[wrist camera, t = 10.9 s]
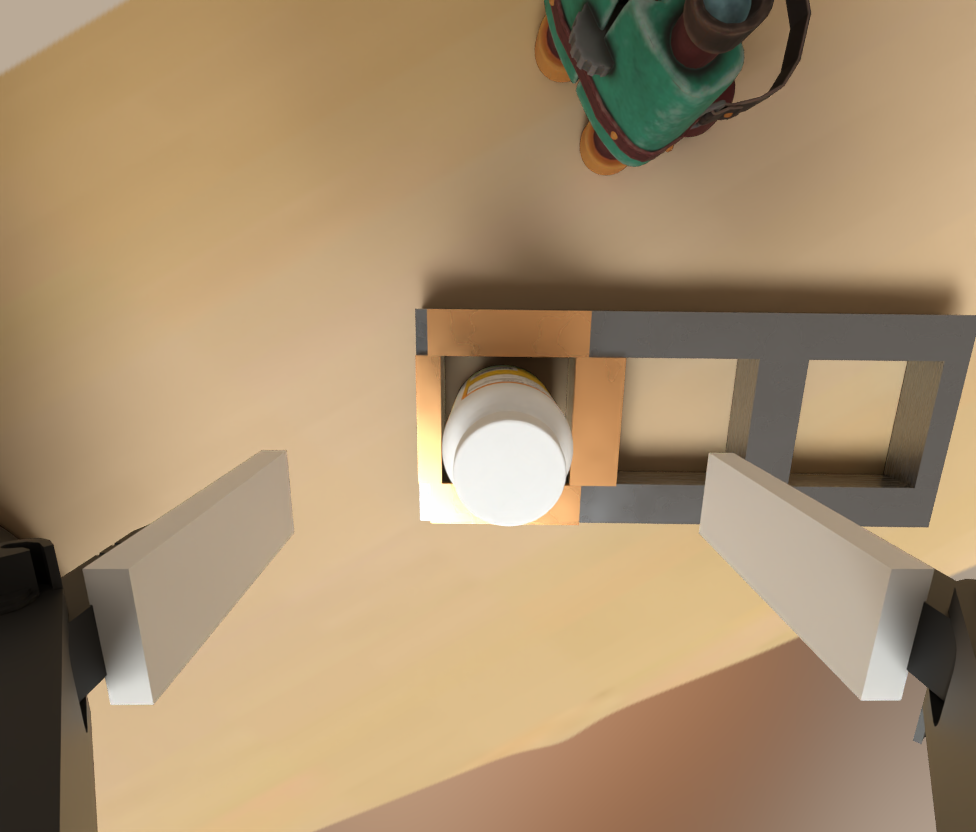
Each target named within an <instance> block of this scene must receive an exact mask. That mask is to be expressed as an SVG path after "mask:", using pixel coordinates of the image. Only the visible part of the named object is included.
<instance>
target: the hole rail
mask: <svg viewBox="0 0 976 832" xmlns="http://www.w3.org/2000/svg"><path fill="white" fill-rule="evenodd" d="M415 318H416V355H415V359H416V401H417V442H418V483H419V486H420V520H431V523H467V524H492V523H489V522H486V521H484V520H482V519H480V518H479V517H477V516H475V515H474V514H473V513H472V512H471V511H470V510H468V509H467V508H466V507H465V505H464V504H463V503H462V501H461V499H460V498H459V496H458V494H457V492H456V489H455V486H454V484H453V483H452V482H451V480H450V478H449V476H448V474H447V472H446V469H445V466H444V462H443V457H442V440H443V434H444V430H445V426H446V421H445V356H497V357H569V361H568V380H567V400H566V420H567V422H568V424H569V427H570V429H571V433H572V438H573V457H572V462H571V466H570V469H569V472H568V474H567V476H566V481H565V485H564V489H563V491H562V494H561V496H560V497H559V499H558V501H557V502H556V504H555V505H554V506H553V507H552V508H551V509H550V510H549V511H548V512H547V513H546V514H544V515H543V516H541V517H540V518H538V519H536V520H534V521H532V522H529V523H527V524H540V525H579V522H580V523H652V524H700V520H701V512H702V504H703V496H704V488H705V480H706V472H646V471H617V469H618V457H619V444H620V431H621V419H622V406H623V393H624V381H625V368H626V358H625V357H632V358H714V359H738V363H737V371H736V378H735V386H734V393H733V400H732V408H731V415H730V423H729V430H728V438H727V445H726V453H734V454H736V455H738V456H740V457H741V458H743V459H745V460H746V461H748V462H750V463H752V464H753V465H755V466H757V467H759V468H760V469H762V470H764V471H766V472H767V473H769V474H771V475H772V476H774V477H776V478H778V479H779V480H781V481H783V482H785V483H786V484H788V485H790V486H792V487H793V488H795V489H797V490H799V491H800V492H802V493H804V494H805V495H807V496H809V497H811V498H812V499H814V500H816V501H818V502H819V503H821V504H823V505H825V506H826V507H828V508H830V509H831V510H833V511H835V512H837V513H838V514H840V515H842V516H844V517H845V518H847V519H849V520H851V521H852V522H854V523H856V524H858V525H859V526H869V527H928V526H929V522H930V518H931V514H932V510H933V506H934V502H935V498H936V494H937V490H938V486H939V482H940V478H941V474H942V470H943V466H944V462H945V458H946V454H947V450H948V446H949V442H950V438H951V434H952V430H953V426H954V422H955V418H956V414H957V410H958V406H959V401H960V397H961V393H962V389H963V385H964V381H965V377H966V373H967V369H968V365H969V361H970V357H971V353H972V349H973V345H974V341H975V337H976V315H918V314H832V313H747V312H662V311H576V310H491V309H415ZM809 360H878V361H908V363H907V368H906V373H905V377H904V382H903V386H902V391H901V396H900V400H899V405H898V409H897V414H896V418H895V423H894V428H893V432H892V437H891V441H890V446H889V451H888V455H887V460H886V464H885V469H884V474H883V475H871V474H796V473H790V469H791V463H792V457H793V451H794V445H795V440H796V434H797V428H798V422H799V416H800V410H801V404H802V398H803V392H804V386H805V380H806V374H807V369H808V363H809Z"/></svg>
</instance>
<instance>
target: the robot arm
mask: <svg viewBox="0 0 976 832" xmlns="http://www.w3.org/2000/svg"><path fill="white" fill-rule="evenodd" d="M293 533H294V524H293V514H292V503H291V492H290V481H289V470H288V459H287V450H261V451H260V452H258V453H257V454H255V455H254V456H252V457H251V458H249V459H248V460H246V461H245V462H243V463H242V464H240V465H239V466H237V467H236V468H234V469H233V470H231V471H230V472H228V473H227V474H225V475H224V476H222V477H221V478H219V479H217V480H216V481H214V482H213V483H211V484H210V485H208V486H207V487H205V488H204V489H202V490H201V491H199V492H198V493H196V494H195V495H193V496H192V497H190V498H189V499H187V500H186V501H184V502H183V503H181V504H180V505H178V506H177V507H175V508H174V509H172V510H171V511H169V512H168V513H166V514H165V515H163V516H162V517H160V518H159V519H157V520H156V521H154V522H152V523H151V524H149V525H147V526H144V527H142V528H139V529H137V530H135V531H133V532H131V533H129V534H128V535H126V536H125V537H123V538H122V539H120V540H119V541H117V542H116V543H115V545H111V546H109V547H108V548H106V549H105V550H103V551H102V552H100V553H99V555H96V556H94V557H92V558H91V559H89V560H88V561H86V562H85V563H83V564H82V565H80V566H79V567H77V568H76V569H74V570H72V571H71V572H69V573H68V574H66V575H65V576H63V577H62V578H61V576H60V572H59V567H58V563H57V558H56V554H55V550H54V545H53V544H52V542H51V541H50V540H46V539H41V538H33V539H20V540H18V539H17V538H16V537H15V536H13V535H12V534H11V533H9V532H8V531H7V530H5V529H4V528H2V527H1V526H0V832H98V830H97V813H96V796H95V778H94V761H93V744H92V727H91V711H90V707H89V702H88V698H87V694H88V693H89V692H90V691H91V690H92V689H93V688H94V687H95V686H96V685H97V684H99V683H100V682H101V681H102V680H103V679H104V678H105V680H106V684H107V689H108V694H109V699H110V703H111V705H154V703H155V702H156V701H157V700H158V699H159V697H160V696H161V695H162V694H163V692H164V691H165V690H166V689H167V688H168V686H169V685H170V684H171V683H172V681H173V680H174V679H175V678H176V677H177V675H178V674H179V673H180V672H181V670H182V669H183V668H184V667H185V666H186V664H187V663H188V662H189V661H190V659H191V658H192V657H193V656H194V655H195V653H196V652H197V651H198V650H199V648H200V647H201V646H202V645H203V644H204V642H205V641H206V640H207V639H208V637H209V636H210V635H211V634H212V633H213V631H214V630H215V629H216V628H217V626H218V625H219V624H220V623H221V622H222V620H223V619H224V618H225V617H226V615H227V614H228V613H229V612H230V611H231V609H232V608H233V607H234V606H235V604H236V603H237V602H238V601H239V600H240V598H241V597H242V596H243V595H244V593H245V592H246V591H247V590H248V588H249V587H250V586H251V585H252V584H253V582H254V581H255V580H256V579H257V577H258V576H259V575H260V574H261V573H262V571H263V570H264V569H265V568H266V566H267V565H268V564H269V563H270V562H271V560H272V559H273V558H274V557H275V555H276V554H277V553H278V552H279V551H280V549H281V548H282V547H283V546H284V544H285V543H286V542H287V541H288V540H289V538H290V537H291V536H292V535H293ZM699 534H700V535H701V536H702V537H703V538H704V539H705V540H706V541H707V542H708V543H709V544H710V545H711V546H712V547H713V548H714V549H715V550H716V551H717V552H718V554H719V555H720V556H721V557H722V558H723V559H724V560H725V561H726V562H727V563H728V564H729V565H730V566H731V567H732V568H733V569H734V570H735V571H736V572H737V573H738V574H739V575H740V576H741V577H742V578H743V579H744V580H745V581H746V582H747V583H748V584H749V585H750V587H751V588H752V589H753V590H754V591H755V592H756V593H757V594H758V595H759V596H760V597H761V598H762V599H763V600H764V601H765V602H766V603H767V604H768V605H769V606H770V607H771V608H772V609H773V610H774V611H775V612H776V613H777V614H778V615H779V616H780V617H781V619H782V620H783V621H784V622H785V623H786V624H787V625H788V626H789V627H790V628H791V629H792V630H793V631H794V632H795V633H796V634H797V635H798V636H799V637H800V638H801V639H802V640H803V641H804V642H805V643H806V644H807V645H808V646H809V647H810V648H811V649H812V651H814V652H815V654H816V655H817V656H818V657H819V658H820V659H821V660H822V661H823V662H824V663H825V664H826V665H827V666H828V667H829V668H830V669H831V670H832V671H833V672H834V673H835V674H836V675H837V676H838V677H839V678H840V679H841V680H842V681H843V682H844V683H845V685H846V686H847V687H848V688H849V689H850V690H851V691H852V692H853V693H854V694H855V695H856V696H858V698H859V699H860V700H901V698H902V694H903V690H904V686H905V682H906V678H907V674H908V671H909V672H910V673H911V674H912V675H914V676H915V677H916V678H917V679H918V680H919V681H921V682H922V683H923V684H924V685H925V686H926V687H927V691H926V695H925V698H924V702H923V706H922V709H921V713H920V717H919V721H918V724H917V728H916V732H915V735H914V739H913V741H915V742H918V743H920V744H921V743H922V741H923V739H924V737H926V742H927V751H928V758H929V759H928V760H929V768H930V776H931V785H932V794H933V802H934V812H935V820H936V829H937V832H976V580H974V579H964V580H960V581H955V580H953V579H952V578H950V577H948V576H946V575H945V574H943V573H941V572H939V571H938V570H936V569H934V568H932V567H931V566H929V565H927V564H926V563H924V562H922V561H920V560H919V559H917V558H915V557H913V556H912V555H910V554H908V553H906V552H905V551H903V550H901V549H899V548H898V547H896V546H894V545H892V544H891V543H889V542H887V541H886V540H884V539H882V538H880V537H879V536H877V535H875V534H873V533H872V532H870V531H868V530H866V529H864V528H863V527H861V526H859V525H858V524H856V523H854V522H852V521H851V520H849V519H847V518H845V517H844V516H842V515H840V514H838V513H837V512H835V511H833V510H831V509H830V508H828V507H826V506H825V505H823V504H821V503H819V502H818V501H816V500H814V499H812V498H811V497H809V496H807V495H805V494H804V493H802V492H800V491H799V490H797V489H795V488H793V487H792V486H790V485H788V484H786V483H785V482H783V481H781V480H779V479H778V478H776V477H774V476H772V475H771V474H769V473H767V472H766V471H764V470H762V469H760V468H759V467H757V466H755V465H753V464H752V463H750V462H748V461H746V460H745V459H743V458H741V457H740V456H738V455H736V454H734V453H709V456H708V464H707V472H706V480H705V488H704V496H703V504H702V512H701V520H700V528H699Z"/></svg>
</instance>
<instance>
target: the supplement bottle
mask: <svg viewBox="0 0 976 832" xmlns="http://www.w3.org/2000/svg"><path fill="white" fill-rule="evenodd" d="M442 457H443V462H444V466H445V469H446V472H447V474H448V476H449V478H450V480H451V482H452V483H453V484H454V486H455V489H456V492H457V494H458V496H459V498H460V499H461V501H462V503H463V504H464V505H465V507H466V508H467V509H468V510H470V511H471V512H472V513H473V514H474V515H475V516H477V517H479V518H480V519H482V520H484V521H486V522H489V523H492V524H495V525H500V526H517V525H523V524H527V523H529V522H532V521H534V520H536V519H538V518H540V517H541V516H543V515H544V514H546V513H547V512H548V511H549V510H550V509H551V508H552V507H553V506H554V505H555V504H556V502H557V501H558V499H559V497H560V496H561V494H562V491H563V489H564V485H565V481H566V476H567V474H568V472H569V469H570V466H571V462H572V457H573V438H572V433H571V429H570V427H569V424H568V422H567V420H566V418H565V416H564V414H563V413H562V411H561V409H560V408H559V407H558V405H557V404H556V402H555V401H554V400H553V398H552V397H551V395H550V394H549V392H548V391H547V389H546V387H545V386H544V385H543V384H542V383H541V382H540V380H539V379H538V378H536V377H535V376H534V375H533V374H531V373H530V372H528V371H526V370H524V369H522V368H519V367H516V366H510V365H496V366H491V367H487V368H485V369H482V370H480V371H478V372H477V373H475V374H474V375H472V376H471V377H470V378H469V379H468V380H467V381H466V382H465V383H464V385H463V386H462V387H461V389H460V391H459V393H458V395H457V397H456V399H455V402H454V405H453V407H452V410H451V413H450V415H449V418H448V420H447V423H446V426H445V430H444V434H443V440H442Z"/></svg>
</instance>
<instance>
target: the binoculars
mask: <svg viewBox="0 0 976 832" xmlns="http://www.w3.org/2000/svg"><path fill="white" fill-rule="evenodd" d="M773 2H774V0H544V4H545V10H546V15H545V17H544V18H543V20H542V22H541V25H540V28H539V32H538V35H537V39H536V44H535V58H536V62H537V65H538V67H539V69H540V71H541V72H542V73H543V74H544V75H545V76H546V77H547V78H549V79H550V80H553V81H556V82H568V81H571V82H572V83H576V82H577V81H578V79H580V81H579V83H578V85H577V88H576V92H577V95H578V98H579V100H580V102H581V104H582V107H583V109H584V111H585V113H586V115H587V117H588V119H589V123H588V124H587V126H586V127H585V129H584V131H583V133H582V135H581V140H580V153H581V157H582V159H583V162H584V163H585V165H586V166H587V167H588V168H589V169H590V170H591V171H593V172H595V173H597V174H600V175H612V174H615V173H618V172H619V171H621V170H623V169H624V168H625V167H626V166H633V167H636V166H641V165H643V164H646V163H647V162H649V161H650V160H653V159H654V158H656V157H657V156H659V155H660V154H662V153H663V152H664V151H666V152H669V151H671V150H672V149H673V145H674V144H676V143H677V142H678V141H679V140H681V139H682V138H683V137H693V136H697V135H700V134H702V133H704V132H705V131H707V130H708V129H709V128H710V127H711V126H712V125H713V124H714V123H715V122H716V121H717V120H724V119H727V120H728V119H730V118H732V117H734V116H737V115H738V114H739V113H740V112H743V111H746V110H748V109H750V108H751V107H753V106H755V105H756V104H758V103H760V102H762V101H763V100H765V99H767V98H768V97H770V96H771V95H772V94H774V93H775V92H777V91H778V90H779V89H781V88H782V87H783V86H785V84H786V82H787V81H788V79H789V78H790V76H791V74H792V73H793V71H794V70H795V68H796V66H797V65H798V63H799V61H800V60H801V55H802V51H803V46H804V42H805V38H806V33H807V29H808V24H809V20H810V15H811V9H810V3H809V0H786V5H787V11H788V18H789V24H790V33H789V37H788V42H787V46H786V51H785V55H784V60H783V64H782V69H781V73H780V74H779V76H778V77H777V79H776V81H775V82H774V84H773V86H772V87H771V89H770V90H769V92H768V93H766V94H764V95H762V96H761V97H758V98H754V99H749V100H745V101H741V102H737V103H732V100H733V97H734V93H735V81H734V79H735V78H736V77H737V75H738V74H739V72H740V71H741V69H742V66H743V63H744V49H743V46H742V43H741V42H742V41H743V40H744V39H745V38H746V37H747V36H748V35H749V34H750V33H751V32H752V31H753V30H755V29H756V28H757V27H758V26H759V25H760V24H761V23H762V22H763V21H764V19H765V18H766V17H767V16H768V14H769V12H770V11H771V9H772V6H773Z"/></svg>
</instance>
